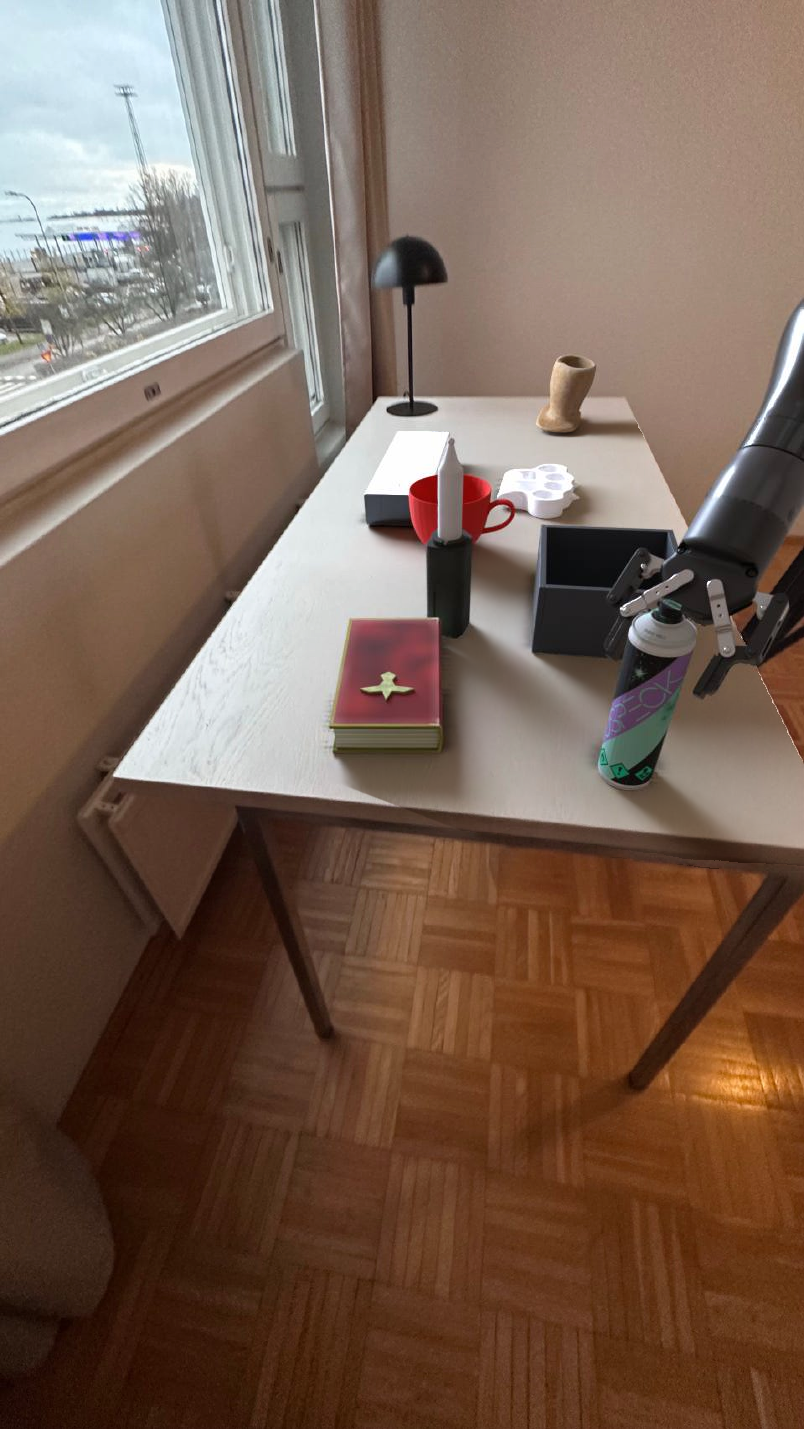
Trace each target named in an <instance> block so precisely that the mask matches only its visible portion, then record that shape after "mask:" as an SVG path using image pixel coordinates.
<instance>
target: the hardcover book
mask: <svg viewBox="0 0 804 1429" xmlns="http://www.w3.org/2000/svg"><path fill="white" fill-rule="evenodd" d="M342 651H343V652H342V655H341V662H340V666H339V672H338V677H337V682H336V688H335V692H334V698H333V704H332V708H331V713H330V719H329V724H328V728H329V730H333V733H334V739H333V747H332V753H333V754H440V752H442V749H443V745H444V744H443V743H444V714H443V713H444V712H443V710H444V708H443V701H444V700H443V635H442V627H441V621H440V619H439V618H427V617H352V618H351V617H350V618H349V620H348V625H347V630H346V635H345V641H344V645H343V650H342Z"/></svg>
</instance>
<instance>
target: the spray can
mask: <svg viewBox="0 0 804 1429" xmlns="http://www.w3.org/2000/svg"><path fill="white" fill-rule="evenodd" d="M681 608H682V606H681V603H680V602H679V601H677V600H675V599H671V598H665V599H663V600H661V603H660V605H659V608H657V609H654V610H652V611H651V612H646V613H643V614H640V615H638V616H637V617H636V618H634V620H633V622H632V626H631V627H630V629H629V634H628V638H627V642H626V646H625V651H624V655H623V659H621V665H620V668H619V673H618V677H617V681H616V685H615V689H614V694H613V698H612V702H611V706H610V711H609V715H608V719H607V723H606V728H605V732H604V736H603V741H602V745H601V750H600V754H599V758H598V762H597V771H598V774H599V776H600V777H601V779H602V780H604V782H605V783H607V784H608V785H610V786H612V787H613V788H616V789H619V790H622V791H637V790H642V789H644V788H646V787H647V786H649V785H650V783H651V782H652V779H653V777H654V775H655V772H656V768H657V766H658V762H659V759H660V755H661V752H662V749H663V746H664V744H665V740H666V737H667V734H668V731H669V727H670V725H671V721H672V718H673V715H674V713H675V712H674V711H675V709H676V706H677V703H678V699H679V696H680V693H681V691H682V687H683V684H684V681H685V678H686V676H687V675H686V674H687V672H688V669H689V666H690V662H691V659H692V656H693V653H694V649H695V646H696V644H697V636H698V629H697V627H696V625H695V624H694V622H693V621H690V620H689V619H686V618H685V616H684V615H683V614H682V612H681Z"/></svg>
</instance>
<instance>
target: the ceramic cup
mask: <svg viewBox="0 0 804 1429" xmlns="http://www.w3.org/2000/svg"><path fill="white" fill-rule="evenodd" d="M492 491H493V490H492V486H491V484H490V483H489V482H488V481H486V480H485V479H484V478H481V477H479V476H475V475H471V474H466V473H463V501H462V529H463V530H465V531H466V532H467V533H468V534H470V535H472V537H473V545H474V544H476V543H477V541H478V540H479V539H480V537H481V536H482V535H485V534H490V533H495V532H497V531H501V530H503V529H505V528H507V527H508V526H509V525H510V524H511V522H512V521H513V520H514V518H515V516H516V509H515V506H514V504H513V503H512V502H511V501H510V500H507V499H499V500H497V499H496V500H493V501H491V499H492ZM501 505H506V506H508V507H509V510H510V514H509V516H508V517H507V519H506V520H505V521H504V522H502V523H500V524H496V525H493V526H488V527H486V524H487V521H488V517H489V516H490V513H491V512H492V510H493V509H495V508H496V507H499V506H501ZM409 506H410V513H411V519H412V523H413V526H412V527H413V529H414V531H415V533H416V535H417V537H418V539H419V540H420V541H421V542H422V544H423V545H424V546H425V547H426V543H427V542H428V541H429V539H430V538H431V534H432V533H433V532H434V531H435V530H437V529H438V474H437V475H431V476H427V477H424V478H421V479H419V480H417V481H415V482H414V483H413V484H412V485H411V486H410V488H409Z"/></svg>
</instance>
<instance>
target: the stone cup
mask: <svg viewBox="0 0 804 1429" xmlns="http://www.w3.org/2000/svg"><path fill="white" fill-rule="evenodd" d="M596 372H597V365H596V363H595V362H594V361H593V360H592V359H590V358H588V357H585V356H583V355H579V354H573V353H572V354H571V353H568V354H563V355H560V356H559V357H558V358H556V360H555V363H554V365H553V368H552V372H551V377H550V382H549V394H550V396H549V403H547V404H544V405H543V406H542V408H541V410H540V412H539V415H538V416H537V418H536V422H535V424H536V427H537V428H538V429H539V430H542V431H545V432H551V433H572V432H574V431H576V430H577V428H578V427H579V426H580V422H581V416H582V412H581V407H582V405H583V404H584V403H583V402H584V400H585V399H586V398H587V395H588V393H589V391H590V389H591V388H592V386H593V383H594V380H595V375H596Z"/></svg>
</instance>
